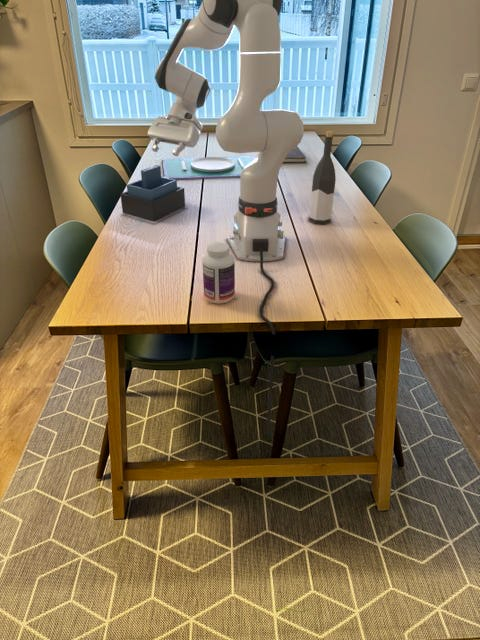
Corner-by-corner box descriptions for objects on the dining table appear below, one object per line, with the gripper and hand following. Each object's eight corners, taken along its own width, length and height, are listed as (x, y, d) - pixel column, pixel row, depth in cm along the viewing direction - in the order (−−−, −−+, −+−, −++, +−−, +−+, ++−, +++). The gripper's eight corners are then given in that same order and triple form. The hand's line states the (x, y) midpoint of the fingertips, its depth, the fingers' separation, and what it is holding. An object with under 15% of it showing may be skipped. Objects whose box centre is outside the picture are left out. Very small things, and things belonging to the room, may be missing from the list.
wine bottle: (334, 218, 168) (346, 130, 151) (325, 226, 162) (337, 135, 146) (313, 214, 172) (322, 127, 155) (304, 221, 166) (312, 132, 149)
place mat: (164, 180, 202) (164, 174, 201) (162, 160, 227) (162, 155, 226) (267, 176, 208) (267, 171, 207) (254, 157, 233) (254, 152, 232)
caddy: (155, 201, 179) (152, 161, 170) (178, 207, 174) (175, 166, 165) (130, 212, 169) (124, 170, 160) (153, 218, 164) (149, 176, 156)
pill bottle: (235, 290, 126) (236, 240, 118) (233, 306, 119) (233, 254, 111) (205, 288, 126) (204, 239, 118) (201, 304, 120) (199, 253, 111)
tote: (155, 200, 181) (153, 180, 177) (185, 208, 175) (184, 187, 170) (123, 215, 169) (120, 193, 164) (154, 223, 162) (151, 202, 158)
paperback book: (296, 150, 245) (297, 145, 244) (306, 162, 226) (306, 157, 225) (266, 150, 244) (266, 145, 243) (273, 163, 225) (273, 158, 224)
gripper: (153, 109, 170) (137, 143, 168) (198, 116, 161) (182, 152, 159) (162, 120, 175) (147, 153, 174) (206, 128, 166) (191, 162, 165)
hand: (164, 153), depth 166 cm, fingers open, 8 cm apart
